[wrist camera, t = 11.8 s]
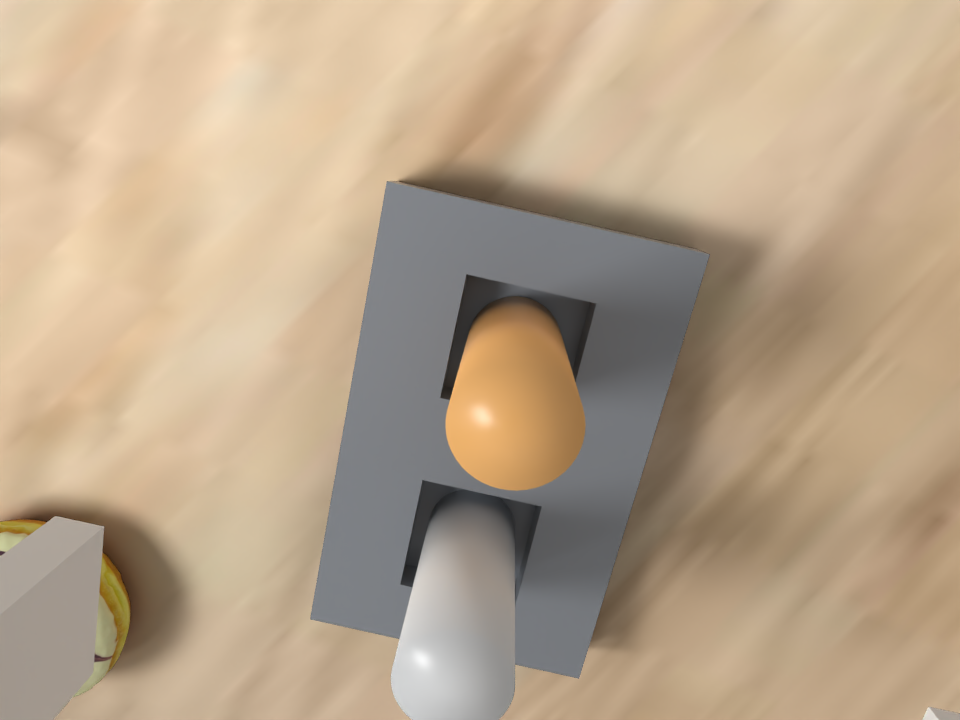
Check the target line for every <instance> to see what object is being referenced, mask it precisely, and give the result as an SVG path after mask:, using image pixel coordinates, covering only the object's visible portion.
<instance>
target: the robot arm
mask: <svg viewBox="0 0 960 720" xmlns="http://www.w3.org/2000/svg"><path fill="white" fill-rule="evenodd" d="M103 536H104V526H99V525H95V524H90V523H86V522H81V521H77V520H72V519H67V518H63V517H58V516H55V517H53V518H52V519H51V520H49V521H48V522H47V523H45V524H44V525H42V526H41V527H40V528H38V529H37V530H36V531H34V532H33V533H32V534H30V535H29V536H27V537H26V538H25V539H23V540H22V541H21V542H19V543H18V544H17V545H15V546H14V547H12V548H11V549H10V550H8V551H7V552H6V553H4V554H3V555H2V556H0V720H54V718H55V717H56V716H57V715H58V714H59V713H60V711H61V710H62V709H63V708H64V707H65V706H66V704H67V703H68V702H69V701H70V700H71V698H72V697H73V696H74V695H75V694H76V693H77V691H78V690H79V689H80V688H81V687H82V686H83V684H84V683H85V682H86V681H87V680H88V679H89V677H90V676H91V675H92V674H93V669H94V656H95V642H96V629H97V616H98V603H99V589H100V576H101V563H102V550H103ZM922 720H960V713H955V712H950V711H946V710H941V709H937V708H932V707H928V709H927V711H926V713H925V715H924V717H923V719H922Z"/></svg>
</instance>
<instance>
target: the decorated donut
mask: <svg viewBox="0 0 960 720" xmlns="http://www.w3.org/2000/svg"><path fill="white" fill-rule="evenodd" d="M45 523H47V522H45V521H38V520H26V519H24V520H22V519H19V520H9V521H1V522H0V556H2V555H3V554H4V553H6V552H7V551H8V550H10V549H11V548H12V547H14V546H15V545H17V544H18V543H19V542H21V541H22V540H23V539H25V538H26V537H27V536H29V535H30V534H32V533H33V532H34V531H36V530H37V529H38V528H40V527H41V526H42V525H44V524H45ZM130 607H131V606H130V600H129V597H128V593H127V591H126V589H125V586H124V584H123V582H122V579H121V574H120V573H119V571H118V570H117V568H116V567H115V565H113V563H112V562H111V560H110V559H109V558H108V556H107V555H106V554H104V553H103V552H102V563H101V576H100V589H99V603H98V616H97V629H96V642H95V656H94V669H93V674H92V675H91V676H90V677H89V679H88V680H87V681H86V682H85V683H84V684H83V686H82V687H81V688H80V689H79V690H78V691H77V693H76V694H75V695H74V696H73V697H75V696H78V695H80V694H82V693H84V692H86V691H88V690H90V689H91V688H92V687H93V686H94V685H95V684H97V683H98V682H100V681H101V680H102V678H103V677H104V676H105V675H106V673H108V672H109V671H110V669H111V668H112V667H113V666H114V665H115V663H116V661H117V660H118V658H119V655H120V654H121V651H122V649H123V647H124V644H125V641H126V637H127V634H128V630H129V624H130Z"/></svg>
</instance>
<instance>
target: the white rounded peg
mask: <svg viewBox="0 0 960 720" xmlns="http://www.w3.org/2000/svg"><path fill="white" fill-rule="evenodd" d="M391 686H392V691H393V694H394V697H395V699H396V701H397V703H398V705H399V706H400V708H401V709H402V710H403V711H404V713H405V714H406V715H407V716H408V717H410V718H411V719H412V720H499V719H500V718H501V717H502V716H503V715H504V713H505V712H506V711H507V709H508V708H509V706H510V704H511V702H512V699H513V696H514V691H515V524H514V519H513V516H512V513H511V511H510V510H509V508H508V507H507V505H506V504H505V503H504V502H503V501H502V500H501V499H500V498H498V497H496V496H492V495H487V494H483V493H478V492H474V491H469V490H465V489H461V490H457V491H454V492H452V493H450V494H448V495H446V496H445V497H443V498H442V499H441V500H440V501H439V502H438V503H437V504H436V506H435V507H434V509H433V511H432V513H431V516H430V520H429V524H428V528H427V532H426V536H425V540H424V544H423V548H422V552H421V556H420V560H419V564H418V568H417V572H416V576H415V579H414V583H413V587H412V591H411V595H410V599H409V603H408V607H407V611H406V615H405V619H404V623H403V627H402V631H401V635H400V639H399V643H398V647H397V651H396V655H395V659H394V663H393V667H392V672H391Z"/></svg>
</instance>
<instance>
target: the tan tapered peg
mask: <svg viewBox="0 0 960 720" xmlns="http://www.w3.org/2000/svg"><path fill="white" fill-rule="evenodd" d="M585 426H586V424H585V415H584V410H583V406H582V403H581V399H580V396H579V392H578V389H577V386H576V382H575V379H574V376H573V372H572V369H571V366H570V362H569V359H568V355H567V352H566V349H565V345H564V342H563V339H562V335H561V332H560V329H559V326H558V323H557V321H556V319H555V318H554V316H553V315H552V313H551V312H550V311H549V310H548V309H547V308H546V307H544V306H543V305H542V304H540V303H538V302H537V301H534V300H532V299H529V298H526V297H520V296H510V297H504V298H500V299H498V300H495V301H493V302H491V303H489V304H488V305H487V306H485V307H484V308H483V309H482V310H481V311H480V312H479V313H478V314H477V316H476V317H475V319H474V320H473V322H472V325H471V327H470V331H469V334H468V338H467V341H466V345H465V348H464V352H463V355H462V359H461V363H460V366H459V370H458V373H457V377H456V380H455V384H454V388H453V391H452V395H451V398H450V402H449V405H448V409H447V414H446V436H447V440H448V444H449V447H450V449H451V451H452V453H453V455H454V457H455V458H456V460H457V461H458V463H459V464H460V465H461V467H462V468H463V469H464V470H465V471H466V472H467V473H469V474H470V475H471V476H473V477H474V478H475V479H477V480H479V481H480V482H482V483H484V484H487V485H489V486H492V487H495V488H499V489H504V490H516V491H518V490H528V489H533V488H537V487H540V486H543V485H545V484H547V483H549V482H551V481H553V480H554V479H556V478H558V477H559V476H560V475H561V474H563V473H564V472H565V471H566V470H567V469H568V468H569V467H570V466H571V465H572V463H573V462H574V460H575V459H576V457H577V455H578V454H579V452H580V450H581V447H582V444H583V441H584V436H585Z"/></svg>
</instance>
